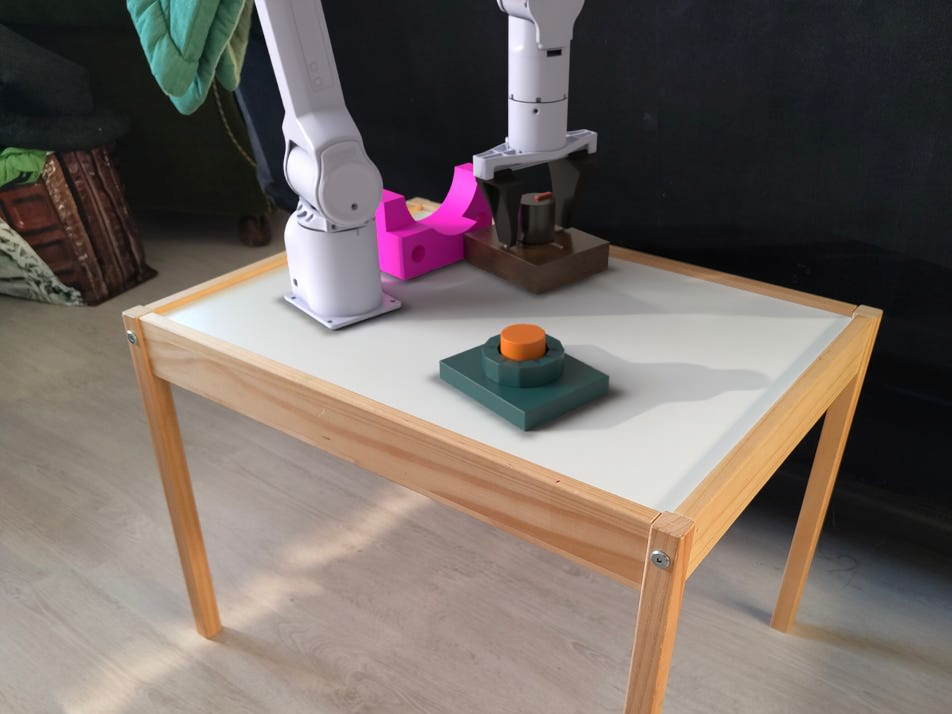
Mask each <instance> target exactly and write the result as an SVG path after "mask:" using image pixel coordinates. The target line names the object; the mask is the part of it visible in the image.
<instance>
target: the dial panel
mask: <svg viewBox="0 0 952 714" xmlns="http://www.w3.org/2000/svg"><path fill="white" fill-rule="evenodd" d="M610 245H611V242H610V241H608V240H606V239H603V238H600V237H598V236H596V235H593V234H590V233H587V232H585V231H582V230H580V229H577V228H575V227H572V226H571V228H569V229H565V228H562V227H560V226H557V225H555V237H554V239H553V240H552V241H550V242H546V243H541V244H530V243H525V242H521V241H519V240H518V239H517V242H516V245H514V246H508V245H506V244H503V243H501V242H499V240H498V236H497V231H496V227H495V224H494V223H492V225H490V226H487V227H483V228H480V229H476V230H473V231H470V232H466V233H463V249H464V259H463V261H464V262H467V263H469V264H471V265H473V266H475V267H478V268H479V269H482V270H483V271H486V272H488V273H490V274H492V275H495V276H497V277H499V278H500V279H503V280H505V281H506V282H509V283H512V284H513V285H516V286H517V287H520V288H521V289H523V290H526V291H528V292H531V293H533V294H535V295H540V294H542V293H546V292H548V291H551V290H553V289H556V288H559V287H562V286H565V285H568V284H571V283H573V282H576V281H579V280H582V279H584V278H587V277H590V276H593V275H596V274H598V273H602V272H604V271H607V270H608V269H609V261H610Z"/></svg>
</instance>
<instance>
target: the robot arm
mask: <svg viewBox="0 0 952 714" xmlns="http://www.w3.org/2000/svg"><path fill="white" fill-rule="evenodd" d="M496 2H497V5H498V7H499V9H500V11H502V12H503V13H507V14H508V95H507V96H508V98H507V99H508V100H507V101H508V103H507V105H508V106H507V107H508V125H507V127H508V135H507V136H506V137H505V142H504V143H501V144H499V145H497V146H494V147H493V148H490V149H489V150H486V151H484V152H481V153H478V154H474V155H472V164H473V175H474V176H475V181H476V183H477V184H478V186H479V187H480V189H481V191H482V193H483V195H484V197H485V199H486V201H487V203H488V206H489V208H490V211H491V214H492V221H493V224H495V227H496V231H497V236H498V240H499V242H501V243H503V244H506V245H508V246H514V245H516V242H517V236H518V215H519V208H520V203H521V198H522V195H524V192H525V188H526V186H527V183H526V182H524V181H521V180H519V179H516V175H515V174H513V171H516V170H520V169H525V168H529V167H533V166H537V165H541V164H545V163H547V165H548V169H549V174H550V180H551V188H552V196H553V197H555V199H556V207H555V225H557V226H560V227H562V228H565V229H569V228H571V227H572V225H573V222H574V220H575V216H576V212H577V209H578V206H579V203H580V200H581V197H582V195H583V192H584V190H585V188H586V186H587V184H588V183H589V181H590V180H591V177H592V176H593V175H594V172H595V171H596V170H597V162H598V160H597V158H596V157H593V156H590V155H591V154H594V153H596V152H597V143H598V133H597V132H595V131H593V130H589V129H586V128H585V129H579V130H572V131H567V130H568V108H569V107H568V106H569V105H568V104H569V81H570V58H571V57H570V56H571V55H570V54H571V40H573V34H574V25H575V22H576V20H577V18H578V16H579V14H580V13H581V11H582V9H583V7H584V4H585V0H496ZM254 4H255V7H256V10H257V14H258V18H259V22H260V25H261V29H262V32H263V35H264V39H265V43H266V47H267V50H268V54H269V57H270V61H271V65H272V69H273V72H274V75H275V79H276V82H277V85H278V90H279V93H280V97H281V100H282V105H283V108H284V111H285V112H284V117H283V122H282V126H281V128H282V133H283V137H284V141H285V142H284V143H285V154H284V159H283V173H284V177H285V180H286V183H287V184H288V186H289V188H291V190H292V191H293V192H294V193H295V194H296V195H298V198H299V199H298V200H299V201H298V202H297V207H296V210H295V211H294V212H293V213H292V214H291V215H290V216H289V218H288V220H287V223H286V225H285V229H284V236H283V237H284V245H285V252H286V259H287V265H288V271H289V278H290V286H291V291H290V292H287V293H285V294H284V295H283V297H284V300H286V302H289V303H290V304H291V305H293V306H295V307H296V308H298V309H299V310H301V311H302V312H303V313H305V314H307V315H308V316H310V317H311V318H313V319H314V320H315V321H317V322H319V323H320V324H321V325H323V326H325V327H326V328H328V329H329V330H337V329H340V328H344V327H346V326H350V325H353V324H356V323H358V322H361V321H364V320H367V319H370V318H374V317H377V316H379V315H382V314H385V313H389V312H391V311H395V310H397V309H400V308H401V307H402V302H401V301H399V300H398V299H396V298H394V297H393V296H390V295H389V294H387V293H386V292H383V285H382V274H381V270H380V261H379V249H378V237H377V226H376V216H375V212H376V211H377V209H378V207H379V205H380V203H381V200H382V196H383V189H384V183H383V178H382V175H381V173H380V171H379V169H378V167H377V166H376V165H375V163H374V162H373V161H372V160H371V159H370V157H369V156H368V154H367V151H366V150H365V147H364V141H363V138H362V135H361V133H360V130H359V129H358V127H357V125H356V122H355V121H354V119H353V117H352V115H351V114H350V112H349V110H348V108H347V106H346V102H345V98H344V94H343V90H342V86H341V85H342V84H341V81H340V78H339V73H338V69H337V64H336V60H335V55H334V52H333V47H332V43H331V39H330V34H329V31H328V27H327V21H326V18H325V13H324V9H323V5H322V1H321V0H254ZM589 154H590V155H589Z"/></svg>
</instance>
